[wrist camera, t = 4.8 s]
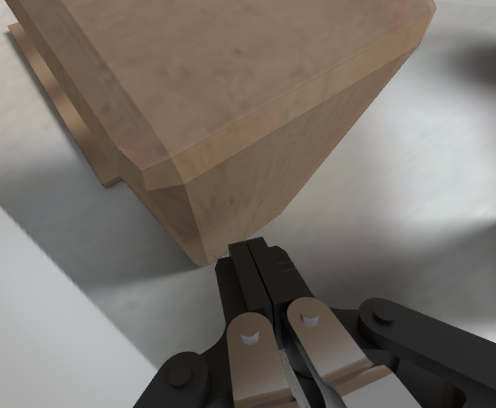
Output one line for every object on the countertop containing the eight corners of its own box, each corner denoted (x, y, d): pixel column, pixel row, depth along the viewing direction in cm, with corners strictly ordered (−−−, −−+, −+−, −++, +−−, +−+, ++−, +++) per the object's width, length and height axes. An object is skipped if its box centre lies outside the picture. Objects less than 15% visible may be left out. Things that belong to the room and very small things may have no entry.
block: (200, 272, 23) (124, 192, 4) (142, 185, 25) (-87, -135, 6) (285, 211, 26) (470, -4, 7) (227, 137, 28) (249, -188, 9)
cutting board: (243, 115, 29) (244, 110, 28) (105, 187, 25) (102, 184, 24) (144, -11, 33) (143, -18, 32) (12, 32, 29) (7, 25, 28)
